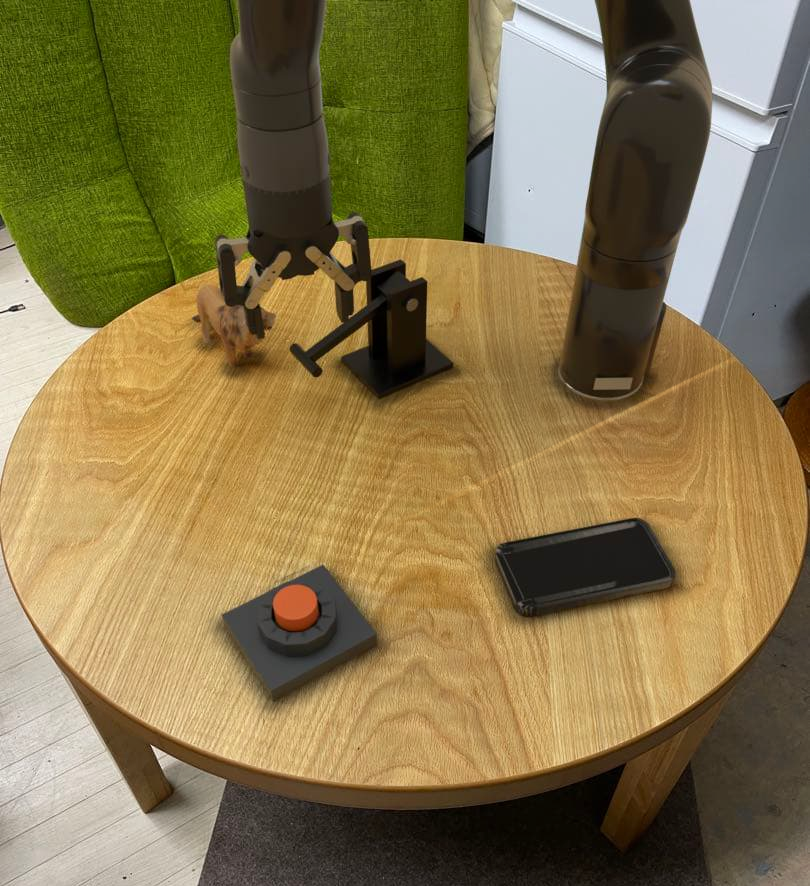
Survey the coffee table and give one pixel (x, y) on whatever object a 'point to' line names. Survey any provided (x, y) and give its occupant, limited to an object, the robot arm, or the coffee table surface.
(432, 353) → the switch bracket
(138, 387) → the coffee table surface
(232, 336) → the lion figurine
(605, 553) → the phone
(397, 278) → the switch lever
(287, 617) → the button
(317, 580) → the control block
